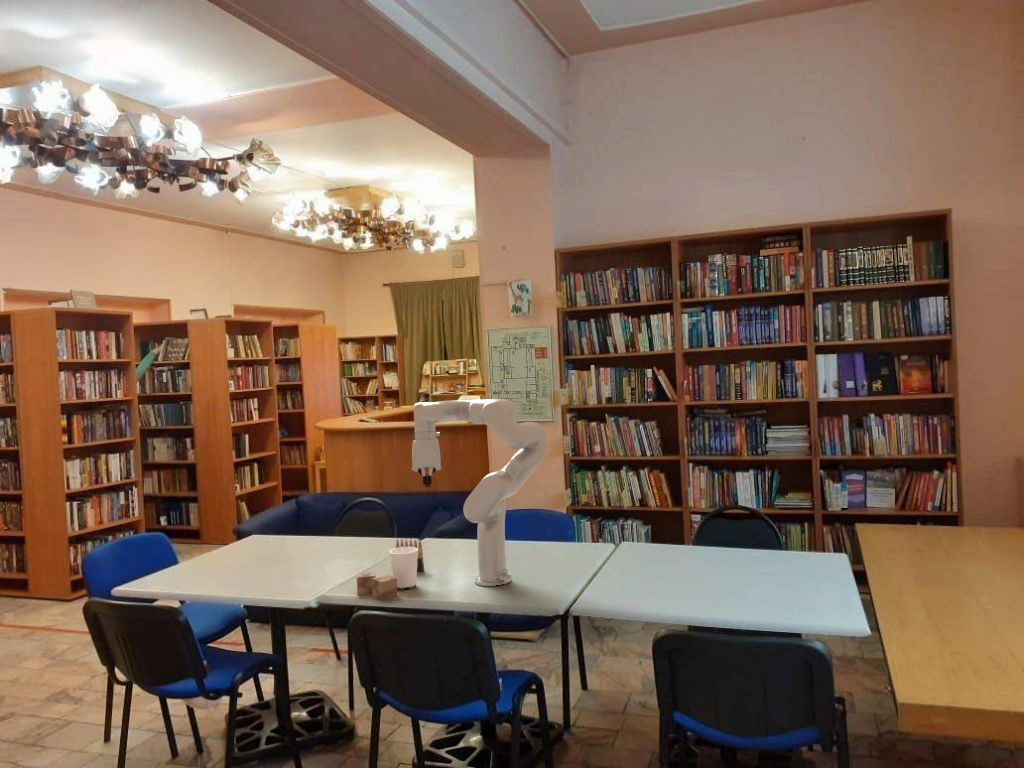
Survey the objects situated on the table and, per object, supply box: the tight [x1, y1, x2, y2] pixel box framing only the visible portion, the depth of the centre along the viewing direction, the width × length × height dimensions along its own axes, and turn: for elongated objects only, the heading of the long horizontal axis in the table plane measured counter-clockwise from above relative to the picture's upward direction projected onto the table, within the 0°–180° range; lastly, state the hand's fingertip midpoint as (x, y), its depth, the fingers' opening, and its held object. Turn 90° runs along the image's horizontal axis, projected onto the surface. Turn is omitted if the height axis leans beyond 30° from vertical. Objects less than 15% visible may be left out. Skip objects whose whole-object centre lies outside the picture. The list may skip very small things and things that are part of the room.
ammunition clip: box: [395, 538, 425, 573], centre depth 276 cm, size 11×2×12 cm, turn 78°
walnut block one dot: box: [356, 571, 377, 596], centre depth 252 cm, size 6×6×6 cm
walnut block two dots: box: [372, 574, 398, 601], centre depth 246 cm, size 6×6×6 cm
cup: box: [389, 546, 418, 591], centre depth 255 cm, size 10×10×13 cm
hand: (427, 486), depth 270 cm, fingers closed
